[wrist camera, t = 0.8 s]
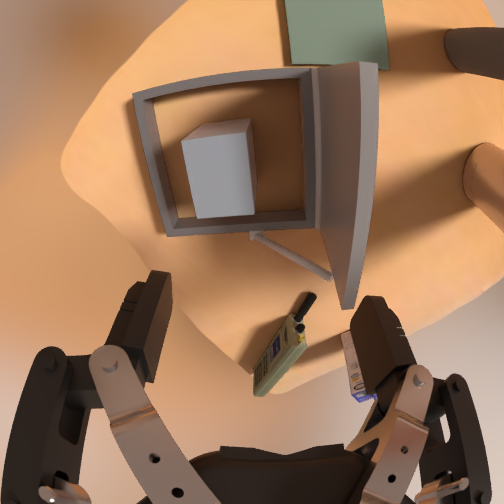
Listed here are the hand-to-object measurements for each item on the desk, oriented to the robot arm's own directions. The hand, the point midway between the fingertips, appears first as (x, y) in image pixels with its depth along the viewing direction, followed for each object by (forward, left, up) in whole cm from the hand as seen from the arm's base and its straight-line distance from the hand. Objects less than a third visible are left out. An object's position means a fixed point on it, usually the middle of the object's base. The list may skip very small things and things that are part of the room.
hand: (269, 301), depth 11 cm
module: (+4, -1, -21) cm, 21 cm away
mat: (-8, -16, -21) cm, 27 cm away
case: (+4, -1, -21) cm, 21 cm away
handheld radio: (0, +32, -21) cm, 38 cm away
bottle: (-24, -15, -21) cm, 35 cm away
